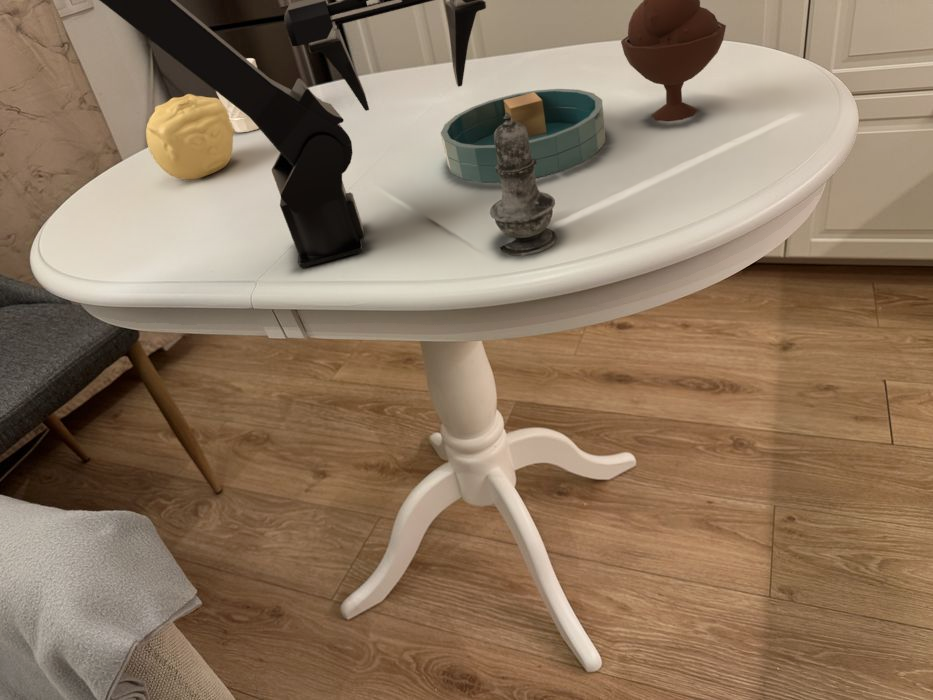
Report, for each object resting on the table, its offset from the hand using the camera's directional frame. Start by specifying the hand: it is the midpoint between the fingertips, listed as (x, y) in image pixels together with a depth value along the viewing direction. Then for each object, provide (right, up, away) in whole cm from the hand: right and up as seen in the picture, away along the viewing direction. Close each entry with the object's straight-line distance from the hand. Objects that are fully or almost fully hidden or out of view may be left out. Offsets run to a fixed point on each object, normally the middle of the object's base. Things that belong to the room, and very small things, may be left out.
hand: (413, 97), depth 67 cm
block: (+13, +3, +20) cm, 24 cm away
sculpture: (-34, +2, +36) cm, 50 cm away
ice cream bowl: (+30, +3, +15) cm, 34 cm away
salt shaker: (+11, -15, -3) cm, 18 cm away
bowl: (+12, -1, +15) cm, 20 cm away
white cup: (-31, +14, +52) cm, 63 cm away
